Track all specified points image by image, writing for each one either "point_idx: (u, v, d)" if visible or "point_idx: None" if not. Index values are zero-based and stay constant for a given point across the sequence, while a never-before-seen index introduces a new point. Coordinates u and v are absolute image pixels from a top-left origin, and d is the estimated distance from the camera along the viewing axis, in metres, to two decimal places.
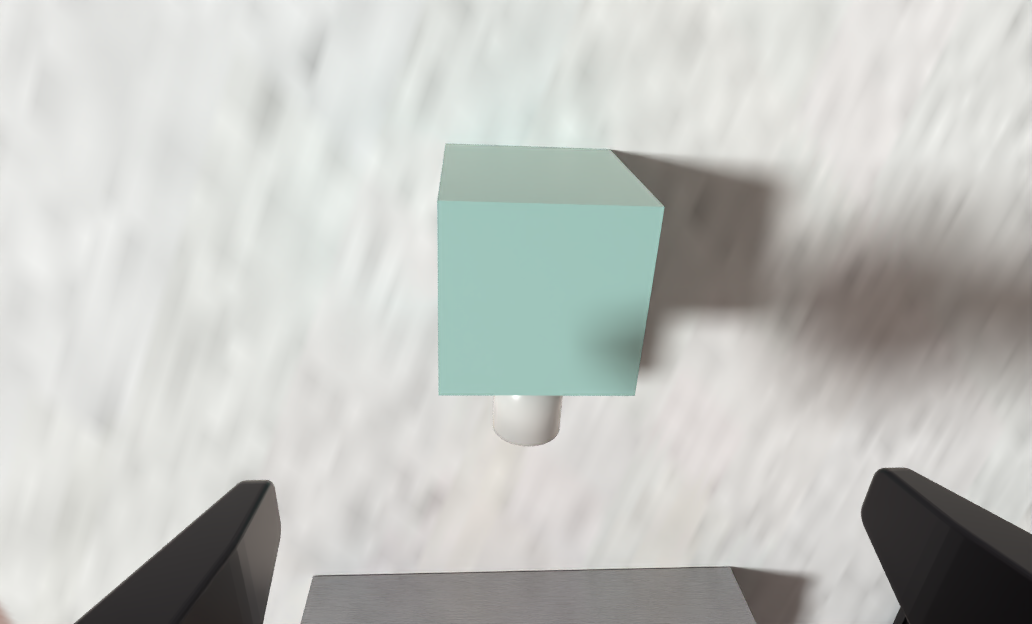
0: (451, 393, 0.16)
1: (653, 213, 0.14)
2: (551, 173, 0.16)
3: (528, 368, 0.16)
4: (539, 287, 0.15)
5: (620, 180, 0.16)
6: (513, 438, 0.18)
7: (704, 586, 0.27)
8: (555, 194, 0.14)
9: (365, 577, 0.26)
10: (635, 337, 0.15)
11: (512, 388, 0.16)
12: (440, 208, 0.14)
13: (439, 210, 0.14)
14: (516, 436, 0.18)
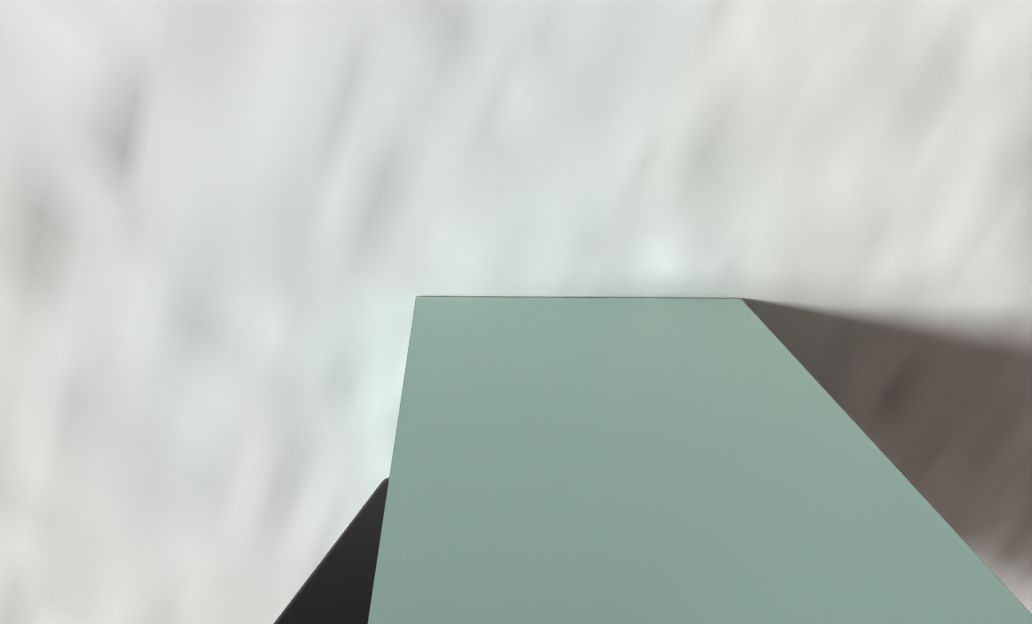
0: None
1: None
2: (663, 430, 0.07)
3: None
4: None
5: (841, 458, 0.06)
6: None
7: None
8: (716, 583, 0.05)
9: None
10: None
11: None
12: None
13: None
14: None
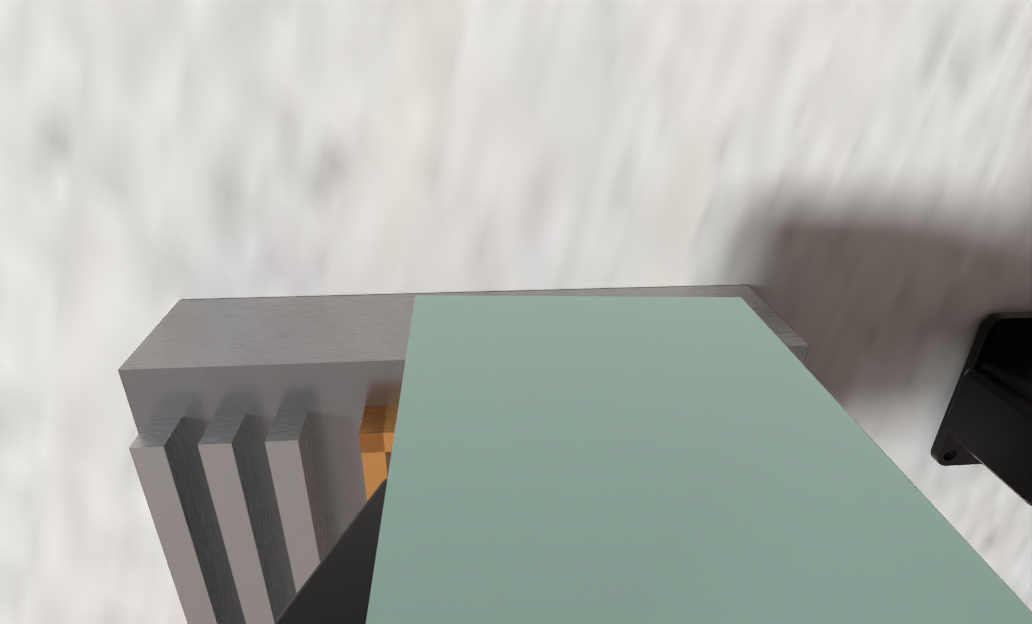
0: None
1: None
2: (663, 428, 0.07)
3: None
4: None
5: (841, 457, 0.06)
6: None
7: None
8: (716, 582, 0.05)
9: (251, 299, 0.19)
10: None
11: None
12: None
13: None
14: None
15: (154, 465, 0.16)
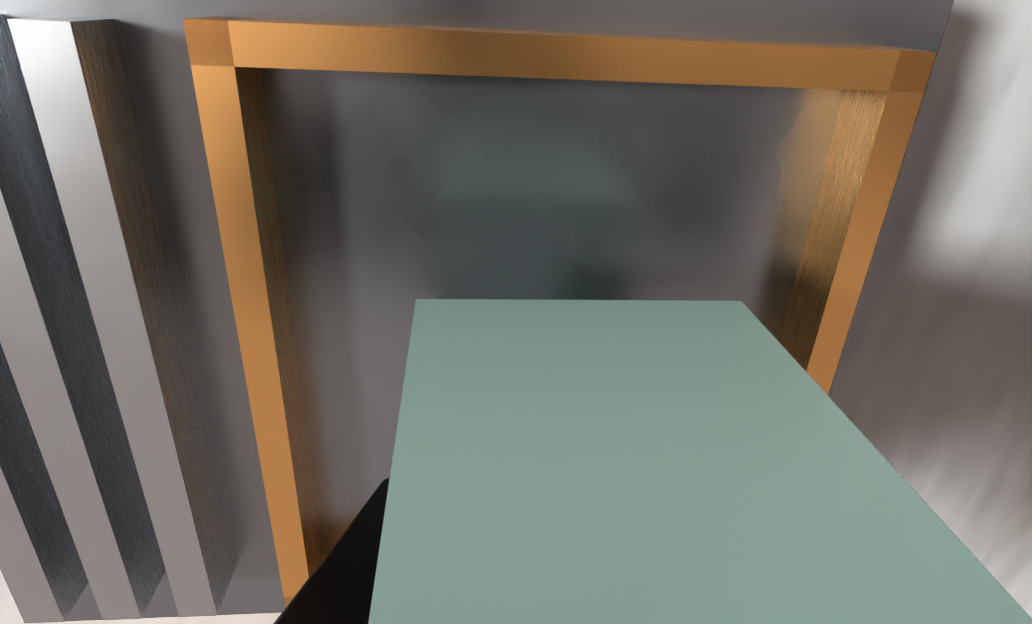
0: None
1: None
2: (663, 433, 0.07)
3: None
4: None
5: (841, 462, 0.06)
6: None
7: None
8: (717, 589, 0.05)
9: None
10: None
11: None
12: None
13: None
14: None
15: None
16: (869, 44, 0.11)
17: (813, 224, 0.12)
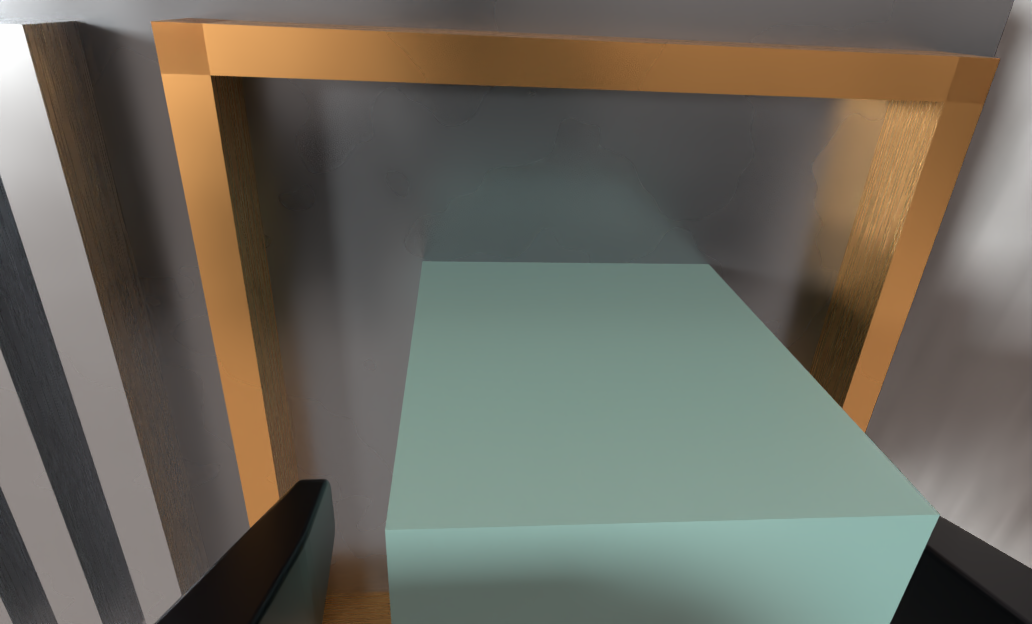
0: None
1: (910, 527, 0.06)
2: (631, 361, 0.08)
3: None
4: None
5: (777, 381, 0.08)
6: None
7: None
8: (665, 462, 0.06)
9: None
10: None
11: None
12: (393, 543, 0.05)
13: (391, 549, 0.05)
14: None
15: None
16: (918, 49, 0.10)
17: (851, 245, 0.11)
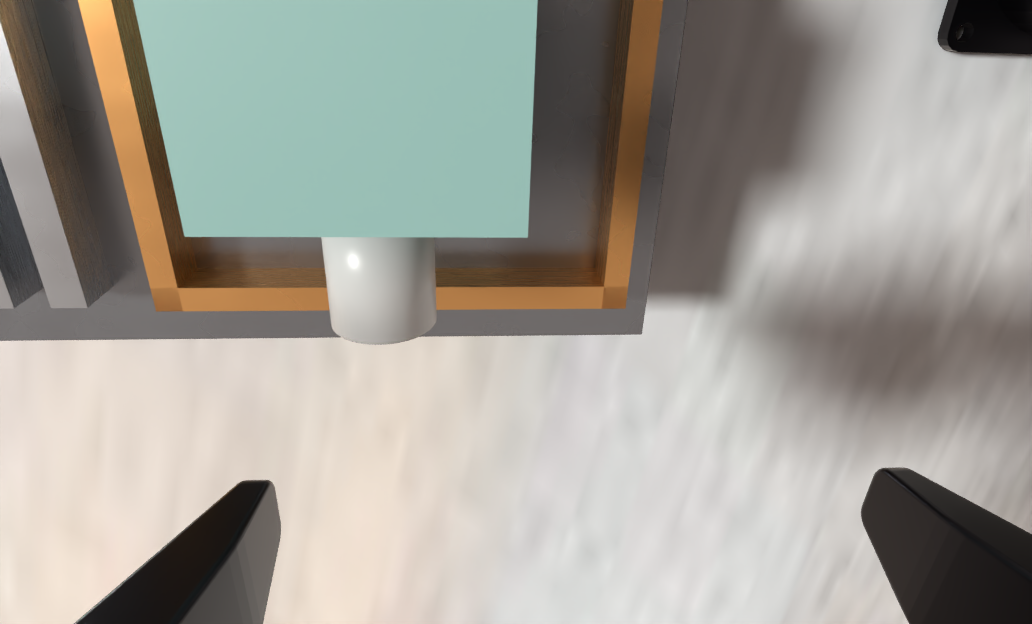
0: (206, 232, 0.09)
1: None
2: None
3: (334, 183, 0.09)
4: (329, 14, 0.08)
5: None
6: (353, 332, 0.11)
7: None
8: None
9: None
10: (517, 123, 0.09)
11: (313, 223, 0.09)
12: None
13: None
14: (357, 328, 0.11)
15: None
16: None
17: None
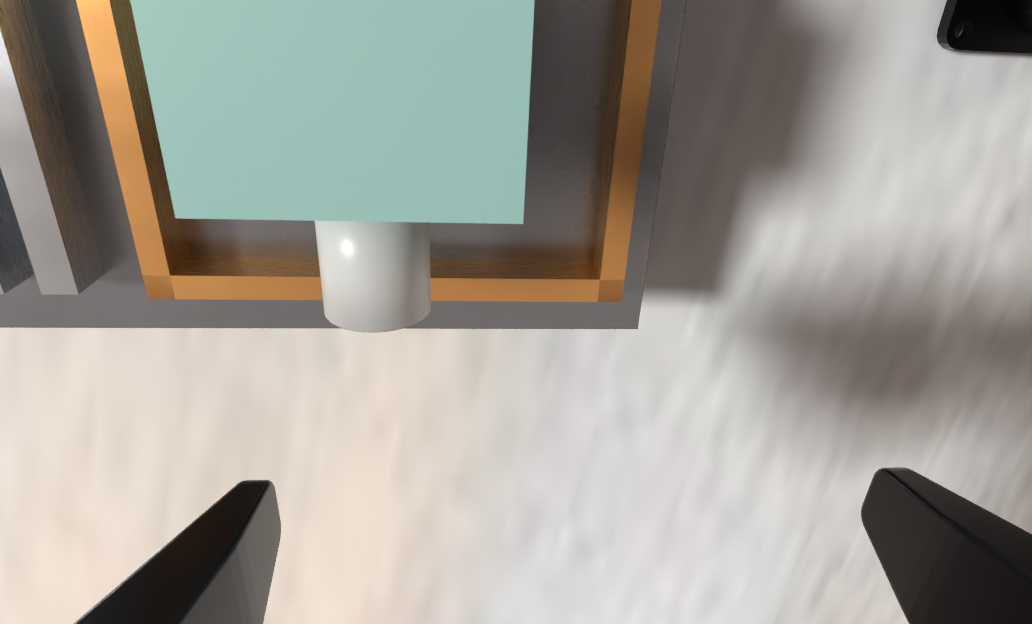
0: (197, 214, 0.09)
1: None
2: None
3: (328, 166, 0.09)
4: None
5: None
6: (346, 319, 0.11)
7: None
8: None
9: None
10: (514, 106, 0.09)
11: (306, 206, 0.09)
12: None
13: None
14: (350, 316, 0.11)
15: None
16: None
17: None
